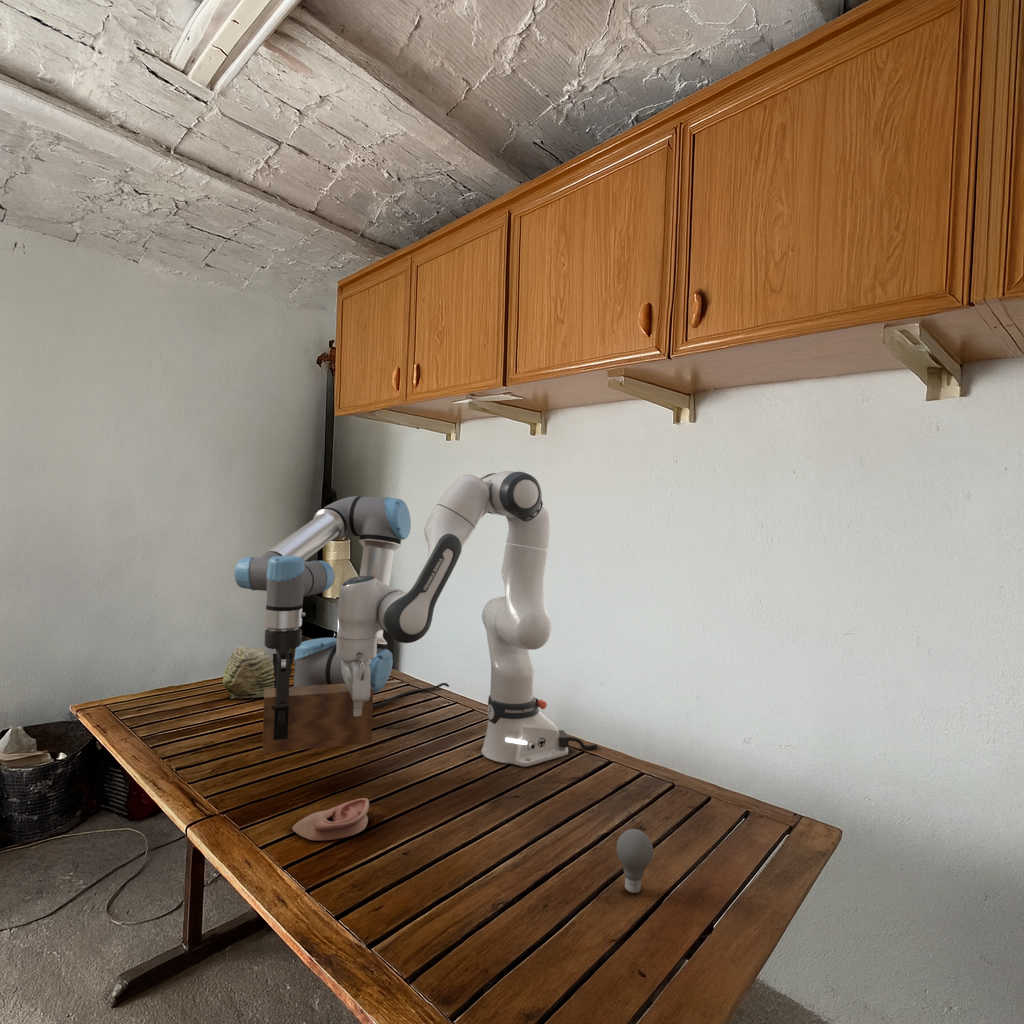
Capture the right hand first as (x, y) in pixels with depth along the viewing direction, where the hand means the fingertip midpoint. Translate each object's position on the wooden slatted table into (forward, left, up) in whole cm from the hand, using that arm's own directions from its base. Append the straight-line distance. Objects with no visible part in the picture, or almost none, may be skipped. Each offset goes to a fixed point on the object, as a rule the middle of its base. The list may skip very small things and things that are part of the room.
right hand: (354, 709), depth 143 cm
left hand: (+16, -2, -3) cm, 16 cm away
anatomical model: (+9, +19, -16) cm, 26 cm away
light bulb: (-33, +59, -16) cm, 69 cm away
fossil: (+14, -69, -16) cm, 72 cm away
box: (+8, -1, -7) cm, 10 cm away
